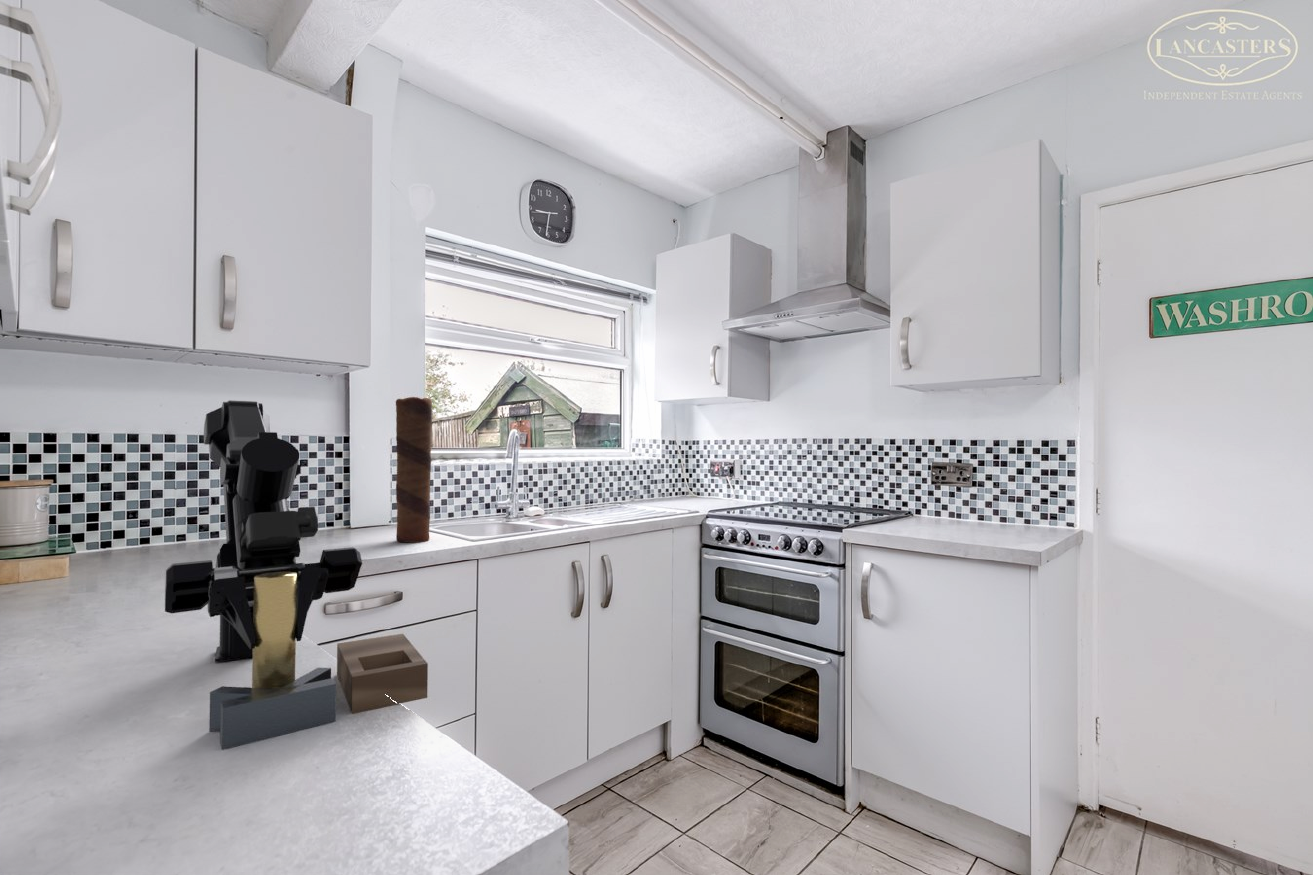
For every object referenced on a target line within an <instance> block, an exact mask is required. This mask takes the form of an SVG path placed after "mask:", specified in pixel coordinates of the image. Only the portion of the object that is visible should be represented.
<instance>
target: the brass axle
mask: <svg viewBox="0 0 1313 875" xmlns="http://www.w3.org/2000/svg"><path fill="white" fill-rule="evenodd" d="M296 595H297V573H295V572H271V573H264V574H260V575H256V576H254V603H253V625H254V630H255V642H256V644H255V648H254V649H253V657H252V660H251V661H252V662H251V663H252V666H251V667H252V668H251V670H252V671H251V672H252V673H251V674H252V676H251V688H269V689H280V688H282V687H283V686H285V685H287V684H289V683H291V682H292V681H294V680H296V650H297V649H296V648H297V647H296V646H297V645H296V644H297V640H296Z"/></svg>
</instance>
